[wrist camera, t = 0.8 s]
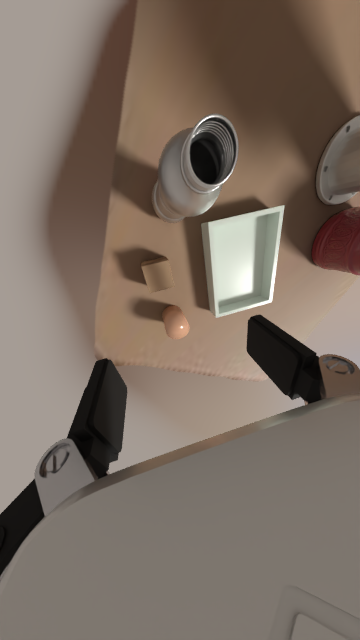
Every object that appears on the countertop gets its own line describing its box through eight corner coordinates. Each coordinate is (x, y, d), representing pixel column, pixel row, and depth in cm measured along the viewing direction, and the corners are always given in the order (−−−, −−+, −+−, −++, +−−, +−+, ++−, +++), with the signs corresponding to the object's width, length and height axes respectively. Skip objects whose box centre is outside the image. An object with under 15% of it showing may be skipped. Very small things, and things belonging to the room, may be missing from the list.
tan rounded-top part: (180, 303, 37) (187, 316, 32) (183, 320, 40) (190, 335, 34) (160, 308, 37) (163, 322, 31) (165, 325, 40) (169, 341, 34)
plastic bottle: (193, 213, 29) (265, 185, 12) (161, 230, 29) (187, 227, 12) (179, 170, 26) (251, 47, 9) (143, 190, 26) (145, 108, 9)
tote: (269, 208, 31) (284, 205, 28) (261, 296, 41) (271, 302, 38) (200, 223, 30) (208, 222, 27) (209, 310, 40) (215, 317, 37)
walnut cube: (165, 256, 32) (168, 260, 28) (170, 280, 34) (174, 286, 30) (141, 262, 31) (141, 266, 27) (148, 285, 34) (149, 293, 30)
